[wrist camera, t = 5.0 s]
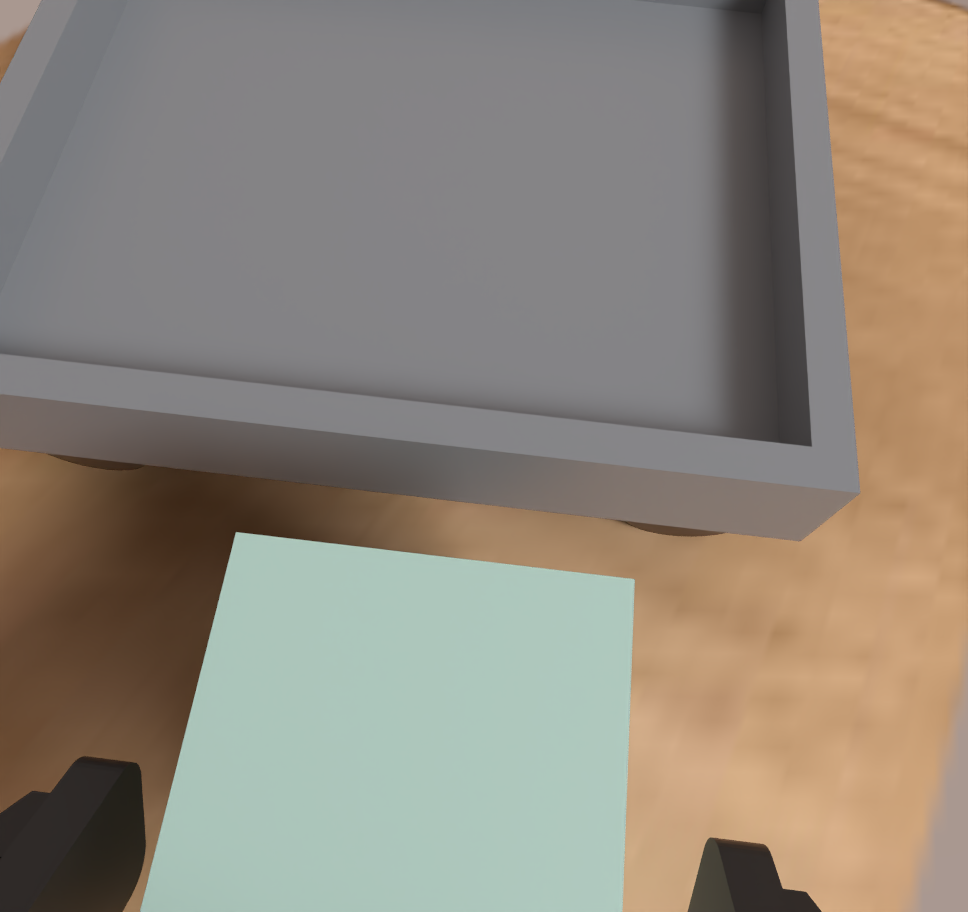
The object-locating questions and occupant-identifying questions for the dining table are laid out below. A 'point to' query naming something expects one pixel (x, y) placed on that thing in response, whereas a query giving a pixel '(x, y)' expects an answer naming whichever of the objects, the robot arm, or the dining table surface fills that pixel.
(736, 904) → the robot arm
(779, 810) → the dining table surface
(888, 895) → the dining table surface
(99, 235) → the grey shallow tray
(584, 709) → the sage part block
